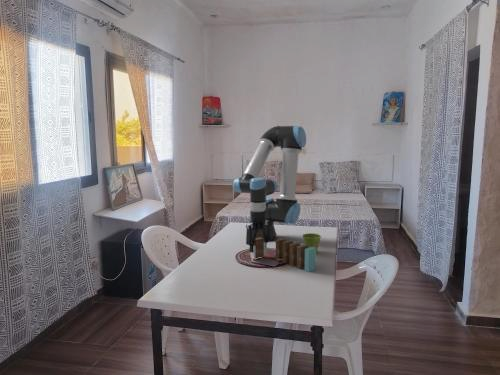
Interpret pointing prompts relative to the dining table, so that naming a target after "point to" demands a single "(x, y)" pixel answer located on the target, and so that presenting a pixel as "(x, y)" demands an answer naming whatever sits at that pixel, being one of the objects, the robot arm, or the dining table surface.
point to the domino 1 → (259, 247)
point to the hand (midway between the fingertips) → (258, 256)
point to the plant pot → (311, 240)
